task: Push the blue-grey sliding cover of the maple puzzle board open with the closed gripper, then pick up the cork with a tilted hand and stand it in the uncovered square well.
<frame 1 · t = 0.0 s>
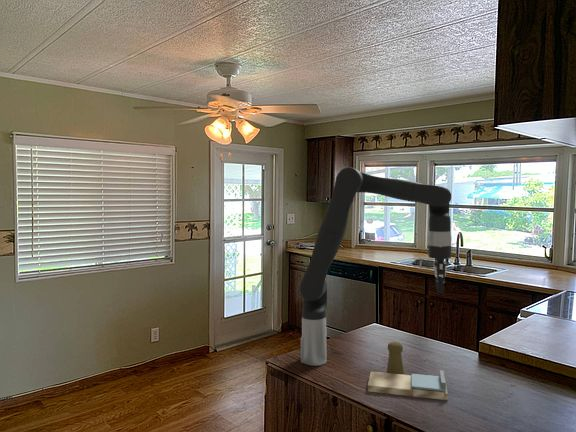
hand: (439, 290, 146), 29 cm above the worktop, tool pointing down, fingers open, 8 cm apart
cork: (395, 374, 148), on the worktop
cover: (427, 379, 135), point 4 cm above the worktop, slide at 0.0 cm
board: (406, 387, 137), on the worktop
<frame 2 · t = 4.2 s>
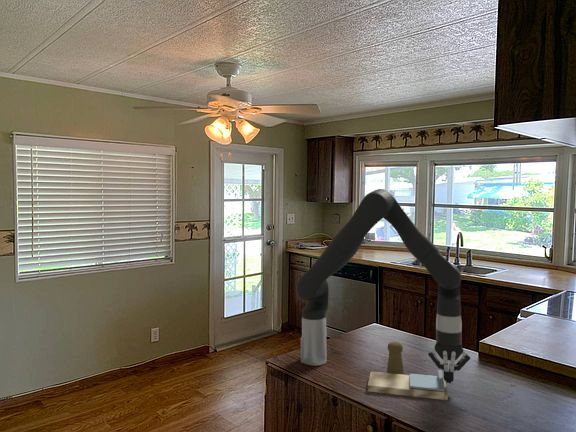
hand: (448, 382, 133), 3 cm above the worktop, tool pointing down, fingers closed
cover: (426, 378, 135), point 4 cm above the worktop, slide at 0.5 cm, touching gripper
everything else where it was.
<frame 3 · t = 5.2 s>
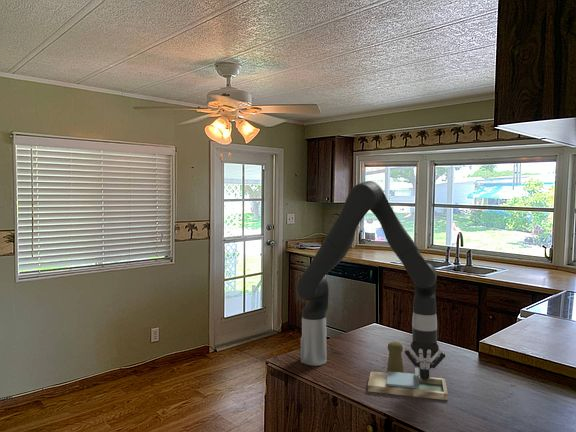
hand: (424, 379, 135), 3 cm above the worktop, tool pointing down, fingers closed
cover: (402, 376, 137), point 4 cm above the worktop, slide at 7.8 cm, touching gripper
everything else where it was.
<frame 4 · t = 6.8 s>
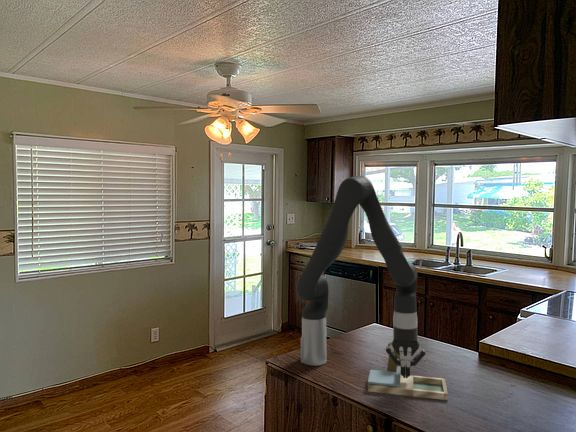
hand: (405, 377, 137), 4 cm above the worktop, tool pointing down, fingers closed
cover: (384, 374, 139), point 4 cm above the worktop, slide at 13.6 cm, touching gripper
everything else where it was.
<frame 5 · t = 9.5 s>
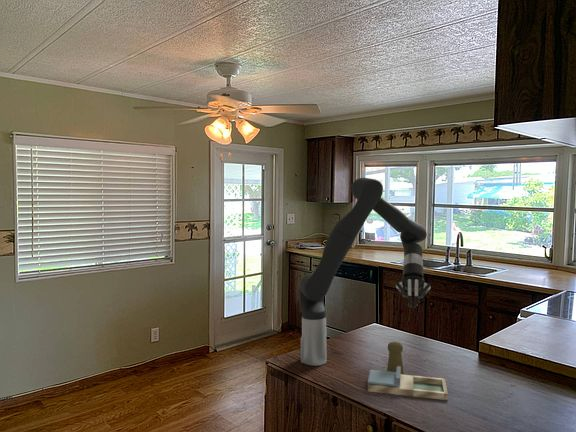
hand: (412, 306, 153), 22 cm above the worktop, tool tilted 45°, fingers closed
cover: (384, 374, 139), point 4 cm above the worktop, slide at 13.6 cm
everything else where it was.
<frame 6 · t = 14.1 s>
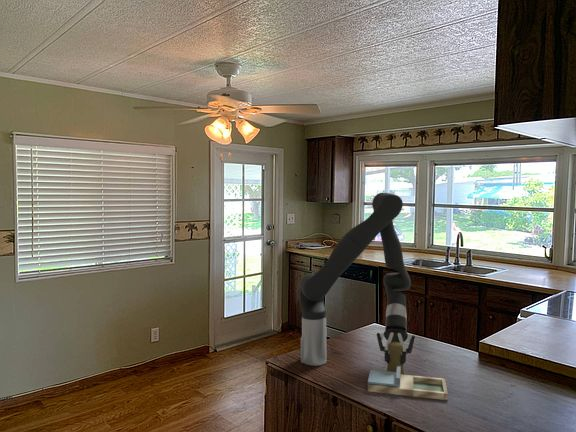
hand: (395, 362, 146), 5 cm above the worktop, tool tilted 45°, fingers closed on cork, 4 cm apart
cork: (395, 374, 148), on the worktop, touching gripper
everything else where it was.
when the fingers open (6 cm above the worktop, at t = 19.3 s): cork drops 2 cm, resting on board.
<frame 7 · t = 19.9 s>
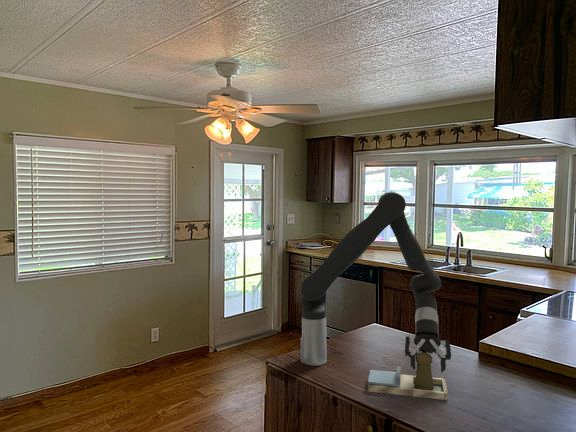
hand: (428, 369, 133), 7 cm above the worktop, tool tilted 45°, fingers open, 8 cm apart
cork: (423, 387, 137), resting on board
everything else where it was.
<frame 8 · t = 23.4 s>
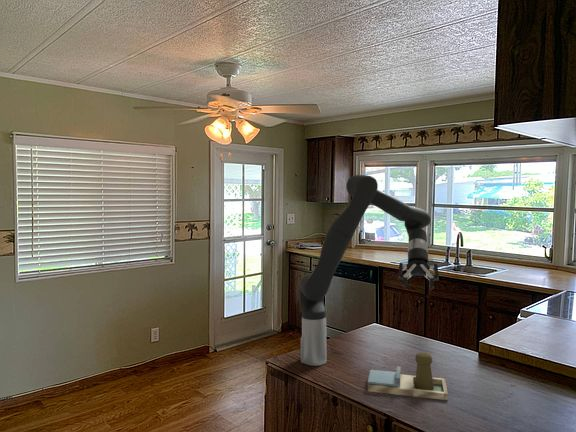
hand: (418, 288, 153), 29 cm above the worktop, tool tilted 45°, fingers open, 8 cm apart
nothing on the worktop moved.
at the end: cover slide at 13.6 cm; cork inside the target area on the board (1.8 cm from its centre), point 0.1 cm above the board's base; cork tilted 0° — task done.
